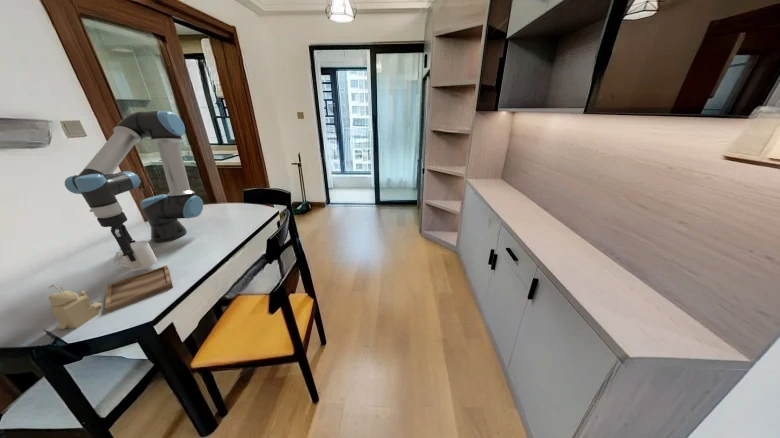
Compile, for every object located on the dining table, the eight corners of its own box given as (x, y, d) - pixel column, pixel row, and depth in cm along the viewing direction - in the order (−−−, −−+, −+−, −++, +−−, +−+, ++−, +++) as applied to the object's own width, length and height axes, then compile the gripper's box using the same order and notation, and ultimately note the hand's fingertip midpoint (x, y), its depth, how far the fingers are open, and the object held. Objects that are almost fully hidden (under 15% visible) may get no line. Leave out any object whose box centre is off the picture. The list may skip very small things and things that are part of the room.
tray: (110, 288, 99) (108, 284, 98) (168, 269, 110) (166, 265, 109) (107, 312, 87) (104, 307, 86) (173, 287, 98) (171, 283, 97)
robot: (88, 307, 89) (64, 272, 83) (108, 308, 88) (85, 273, 82) (49, 331, 80) (19, 294, 74) (71, 332, 79) (42, 294, 73)
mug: (161, 256, 114) (152, 239, 110) (150, 268, 106) (139, 250, 102) (130, 261, 111) (119, 243, 107) (116, 273, 103) (104, 255, 99)
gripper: (98, 209, 102) (125, 255, 112) (93, 226, 88) (125, 277, 97) (123, 204, 107) (147, 249, 116) (122, 219, 92) (150, 268, 102)
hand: (137, 261), depth 107 cm, fingers closed on mug, 9 cm apart
